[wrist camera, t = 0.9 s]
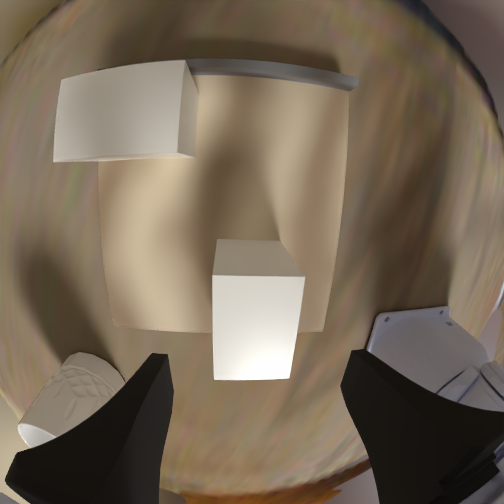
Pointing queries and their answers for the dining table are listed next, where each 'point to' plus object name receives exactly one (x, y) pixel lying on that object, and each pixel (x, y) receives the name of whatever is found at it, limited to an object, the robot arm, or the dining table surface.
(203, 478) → the dining table surface
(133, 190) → the shelf board
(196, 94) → the faced carton
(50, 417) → the white cup
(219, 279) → the carton
